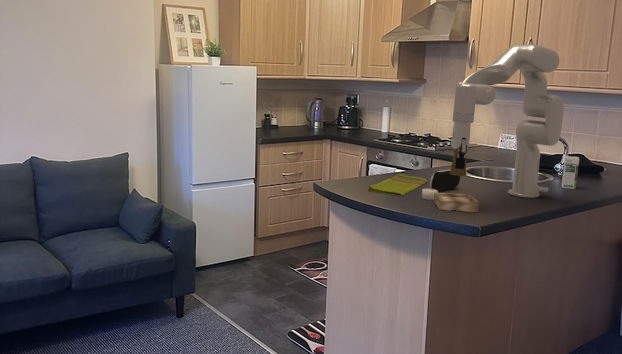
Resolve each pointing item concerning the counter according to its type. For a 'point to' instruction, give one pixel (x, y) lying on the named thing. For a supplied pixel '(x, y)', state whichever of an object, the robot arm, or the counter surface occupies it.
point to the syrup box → (570, 172)
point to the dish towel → (398, 185)
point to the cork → (453, 170)
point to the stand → (456, 202)
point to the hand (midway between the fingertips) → (458, 167)
